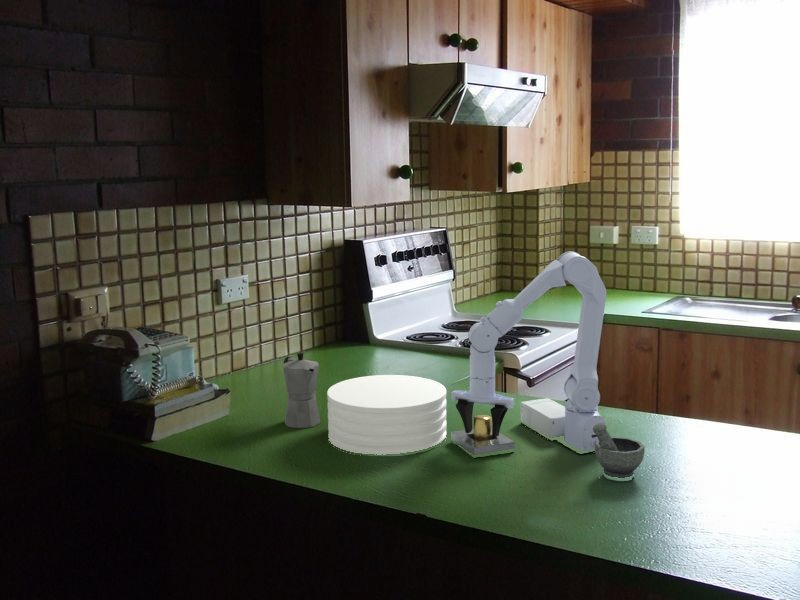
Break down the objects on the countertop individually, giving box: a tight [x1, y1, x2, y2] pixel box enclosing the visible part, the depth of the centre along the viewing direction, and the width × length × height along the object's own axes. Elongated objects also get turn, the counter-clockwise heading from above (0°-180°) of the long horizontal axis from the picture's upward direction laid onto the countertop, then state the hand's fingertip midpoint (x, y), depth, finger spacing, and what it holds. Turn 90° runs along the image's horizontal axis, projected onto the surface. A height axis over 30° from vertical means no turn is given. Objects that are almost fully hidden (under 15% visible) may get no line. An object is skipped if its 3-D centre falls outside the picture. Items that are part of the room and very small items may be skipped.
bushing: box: [473, 414, 492, 442], centre depth 197 cm, size 4×4×7 cm
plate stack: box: [326, 374, 448, 455], centre depth 205 cm, size 28×28×12 cm
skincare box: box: [519, 397, 565, 438], centre depth 208 cm, size 8×6×15 cm
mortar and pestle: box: [592, 423, 646, 478], centre depth 178 cm, size 11×9×12 cm
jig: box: [450, 426, 515, 455], centre depth 197 cm, size 12×10×2 cm
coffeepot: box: [282, 352, 321, 429], centre depth 216 cm, size 15×9×18 cm, turn 33°
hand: (482, 434), depth 197 cm, fingers open, 6 cm apart
